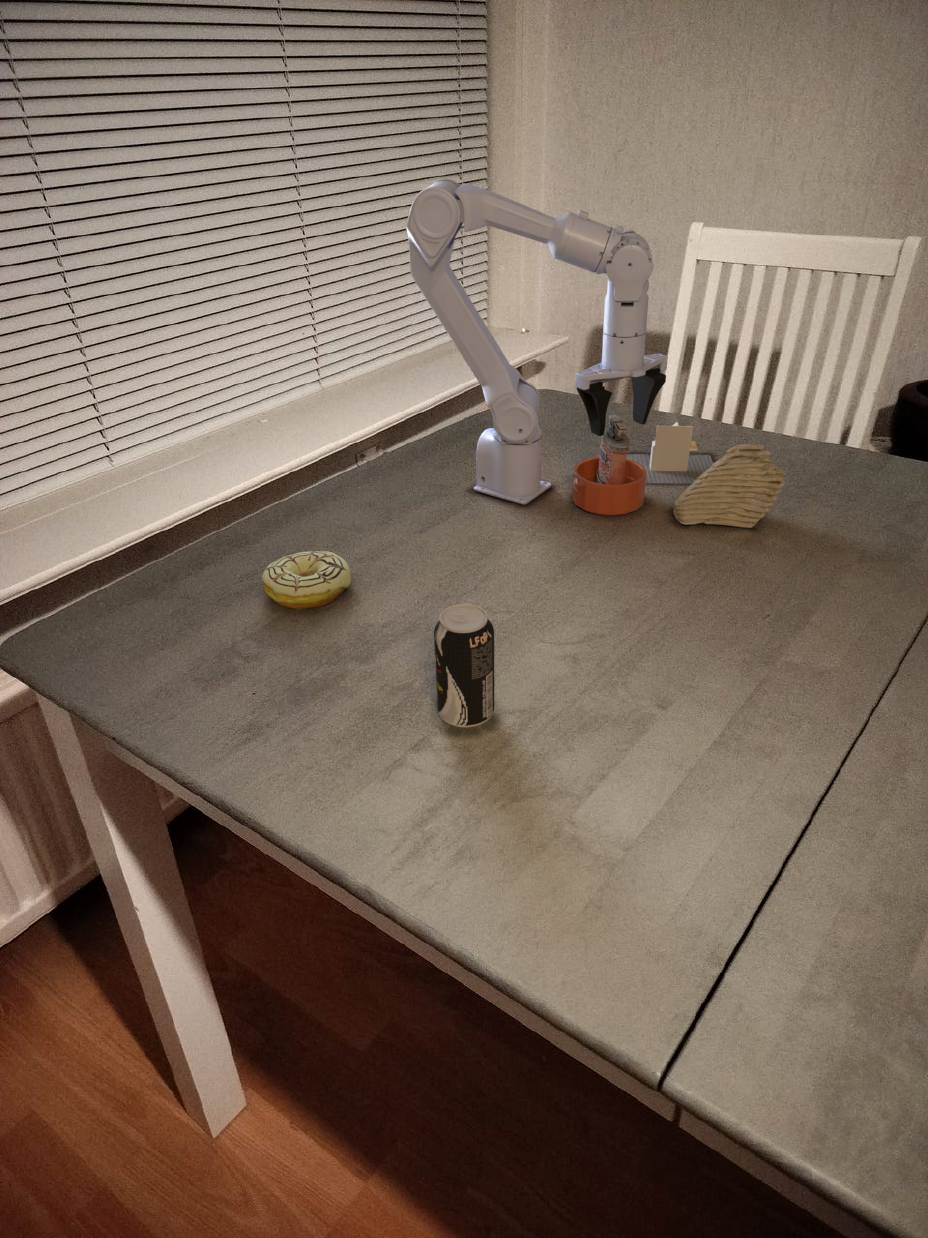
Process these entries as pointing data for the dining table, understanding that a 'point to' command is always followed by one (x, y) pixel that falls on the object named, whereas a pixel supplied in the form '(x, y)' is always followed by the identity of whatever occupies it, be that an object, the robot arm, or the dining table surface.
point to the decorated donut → (306, 579)
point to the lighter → (613, 453)
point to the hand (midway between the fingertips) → (618, 427)
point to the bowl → (608, 489)
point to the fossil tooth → (732, 489)
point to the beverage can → (464, 665)
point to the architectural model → (673, 457)
